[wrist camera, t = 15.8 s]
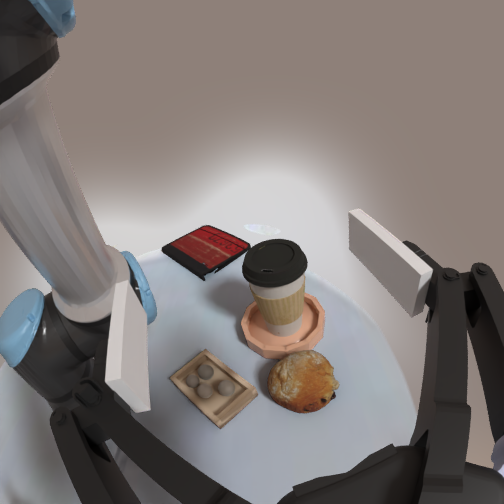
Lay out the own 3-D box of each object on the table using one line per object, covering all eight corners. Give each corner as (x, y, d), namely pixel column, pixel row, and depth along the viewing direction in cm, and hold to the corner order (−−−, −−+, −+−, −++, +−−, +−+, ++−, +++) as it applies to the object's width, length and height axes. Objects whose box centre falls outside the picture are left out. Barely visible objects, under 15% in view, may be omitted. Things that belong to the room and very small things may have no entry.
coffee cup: (315, 304, 55) (310, 236, 47) (308, 347, 48) (301, 278, 39) (264, 302, 58) (249, 236, 50) (250, 342, 51) (231, 276, 43)
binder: (202, 274, 68) (160, 247, 82) (204, 282, 69) (162, 254, 84) (253, 242, 76) (205, 222, 90) (255, 250, 78) (207, 229, 92)
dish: (229, 333, 55) (225, 325, 53) (280, 289, 62) (278, 280, 61) (288, 373, 45) (287, 365, 44) (339, 317, 53) (339, 308, 51)
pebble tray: (175, 384, 47) (167, 374, 45) (209, 356, 51) (203, 345, 49) (220, 429, 39) (213, 420, 37) (258, 394, 43) (254, 384, 41)
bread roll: (311, 368, 49) (293, 333, 48) (355, 383, 41) (339, 344, 39) (270, 406, 45) (247, 372, 43) (311, 430, 36) (289, 394, 34)
